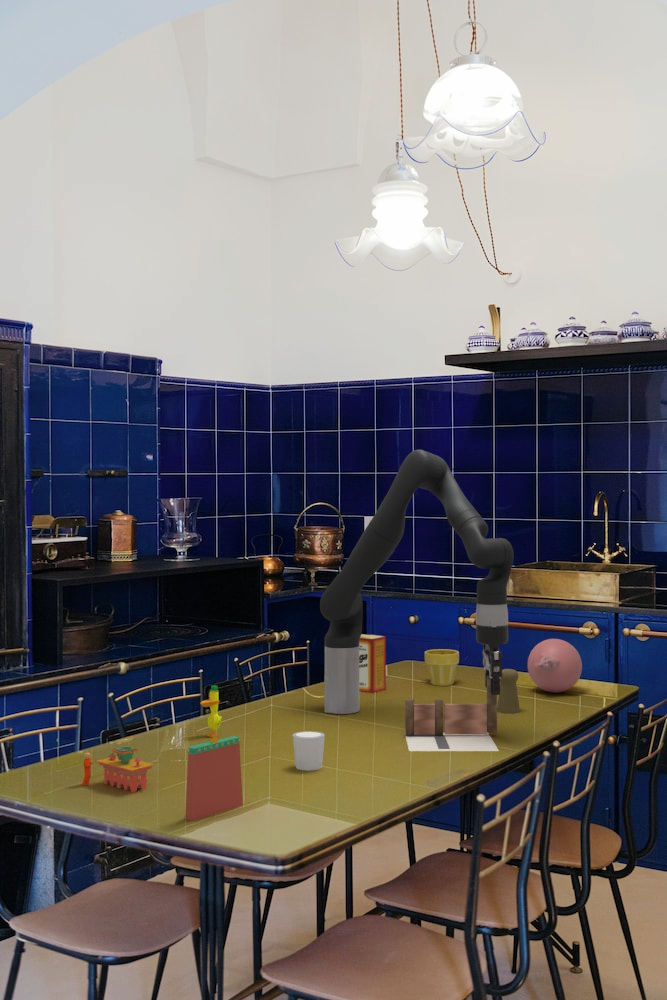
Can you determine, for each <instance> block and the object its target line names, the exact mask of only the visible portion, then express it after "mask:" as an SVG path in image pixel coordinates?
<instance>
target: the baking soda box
mask: <svg viewBox="0 0 667 1000" xmlns="http://www.w3.org/2000/svg"><path fill="white" fill-rule="evenodd" d="M386 638H387V637H386V636H383V635H378V634H377V635H376V634H363V633H361V636H360V640H359V692H360V691H361V692H360V693H367V692H368V693H369V694H376V693H379V692H378V691H380V692H383V691H382V690H384V691H386V690H387V683H386V682H387V677H386V676H387V675H386V674H387V669H386V667H387V661H386V660H387V659H386V658H387V655H386V654H387V652H386V651H387V650H386V647H387V646H386V644H387V642H386V641H387V640H386ZM375 692H376V693H375Z"/></svg>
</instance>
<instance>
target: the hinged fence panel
mask: <svg viewBox="0 0 667 1000" xmlns="http://www.w3.org/2000/svg"><path fill="white" fill-rule="evenodd" d="M497 705H498V695H491V693H490V677H489V676H487V688H486V703H443V733H444V734H487V733H489V734H497V733H498V711H497Z"/></svg>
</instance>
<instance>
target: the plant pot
mask: <svg viewBox="0 0 667 1000" xmlns="http://www.w3.org/2000/svg"><path fill="white" fill-rule="evenodd" d="M459 662H460V652H459V651H458V650H455V649H446V648H445V649H442V648H441V649H440V648H438V649H428V650H426V651H424V663H425V664H426V666H427V670H428V675H429V678H430V679H429V680H430V684H431V685H432V686H437V687H438V686H440V687H441V686H442V687H443V686H444V687H447V686H452V685H453V684H454V683H455V677H456V671H457V667H458V666H457V665H458V664H459Z"/></svg>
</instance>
